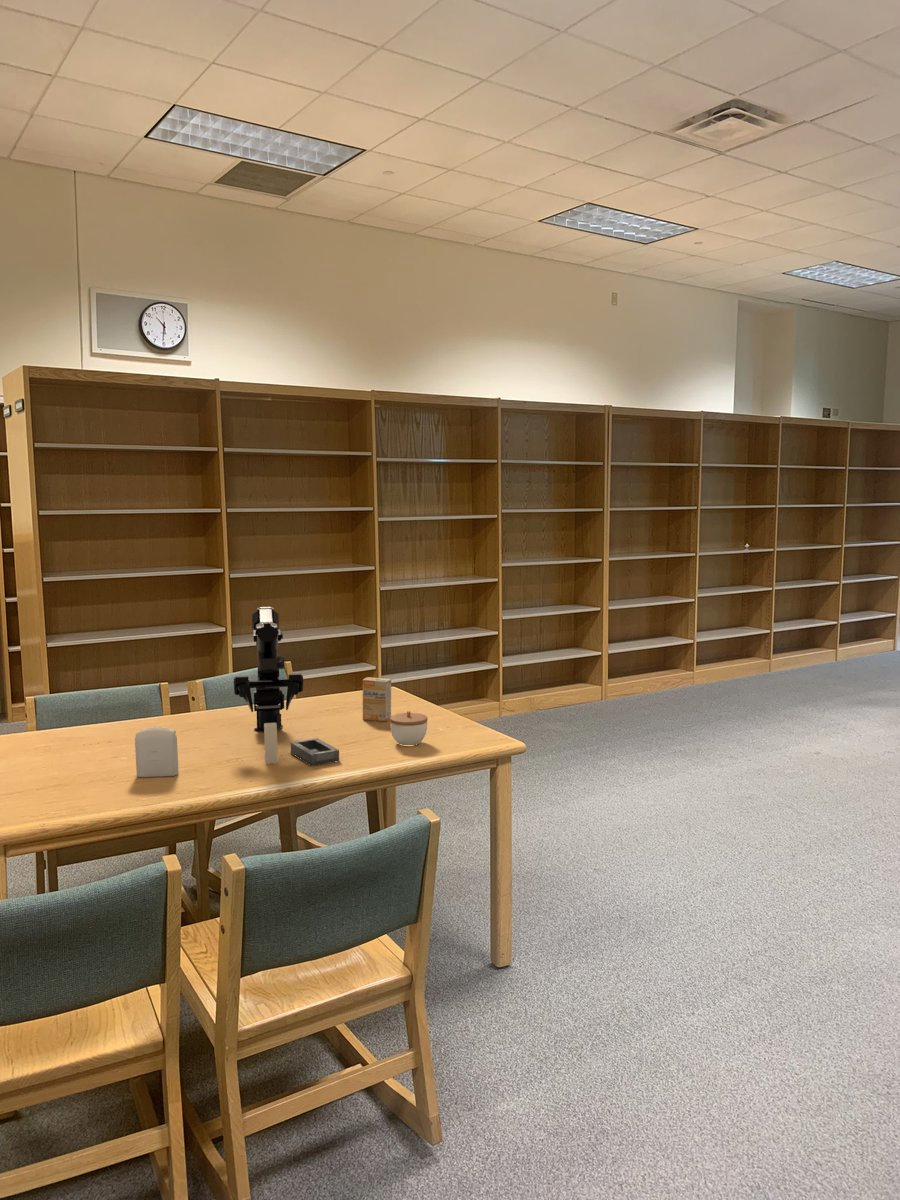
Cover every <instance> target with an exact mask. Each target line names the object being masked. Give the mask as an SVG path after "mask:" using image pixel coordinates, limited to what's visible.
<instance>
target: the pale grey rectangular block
mask: <svg viewBox="0 0 900 1200" xmlns="http://www.w3.org/2000/svg"><path fill="white" fill-rule="evenodd" d="M263 733H264V735H263V736H264V737H263V738H264V761H265V762H264V764H265V763H274V764H278V763H279V762H278V730H277V724H276V723H264V731H263Z"/></svg>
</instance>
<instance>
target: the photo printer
mask: <svg viewBox="0 0 900 1200" xmlns="http://www.w3.org/2000/svg"><path fill="white" fill-rule="evenodd" d="M134 747H135V750H134V751H135V766H136V767H135V768H136V776H138V777H137V778H150V777H151V778H153V777H173V776H174V777H175V775H176V776H178V775H179V756H178V755H179V753H178V752H179V751H178V737H177V734H176V730H175V729H173V728H169V727H162V726H153V727H146V728H142V729H140V730H137V731H136V733H135V738H134Z"/></svg>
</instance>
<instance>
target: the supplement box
mask: <svg viewBox="0 0 900 1200" xmlns="http://www.w3.org/2000/svg"><path fill="white" fill-rule="evenodd" d="M391 716H392V678H384V677H383V678H382V677H372V676H371V677H369V676H367V677H365V678H363V679H362V720H363V721H375V720H377V722H385V721H386V722H388V721H390V717H391ZM387 720H388V721H387Z"/></svg>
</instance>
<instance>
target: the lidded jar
mask: <svg viewBox="0 0 900 1200" xmlns="http://www.w3.org/2000/svg"><path fill="white" fill-rule="evenodd" d="M428 718H429V717H428V716H427V715H425V714H422V713H418V712H411V711H406V712H402V713H396V714H393V715H391V717H390V719H389V722H390V723H389V725H390V733H391V736H392V737H393V740H395V742H396V743H397V744H398V743H399V744H402V745H416V744H419V743H421V742H422V741H423V740H424V739H425V737H426V735H427V729H428ZM399 744H398V745H399ZM419 745H420V744H419Z"/></svg>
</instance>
